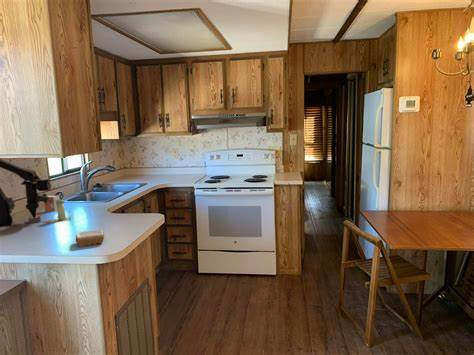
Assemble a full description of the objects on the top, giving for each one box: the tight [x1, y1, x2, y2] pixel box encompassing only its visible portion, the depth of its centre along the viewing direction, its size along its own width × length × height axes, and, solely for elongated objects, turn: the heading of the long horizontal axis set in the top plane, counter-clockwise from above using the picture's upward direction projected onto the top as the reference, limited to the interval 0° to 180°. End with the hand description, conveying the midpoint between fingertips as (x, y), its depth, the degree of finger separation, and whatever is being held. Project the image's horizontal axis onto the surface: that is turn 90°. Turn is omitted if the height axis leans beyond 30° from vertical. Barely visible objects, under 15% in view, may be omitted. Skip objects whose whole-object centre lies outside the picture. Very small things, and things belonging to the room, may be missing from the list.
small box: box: [43, 195, 60, 213], centre depth 241 cm, size 8×6×10 cm
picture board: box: [41, 216, 72, 224], centre depth 216 cm, size 18×17×1 cm
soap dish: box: [75, 229, 105, 247], centre depth 169 cm, size 12×10×5 cm
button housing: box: [28, 215, 42, 224], centre depth 211 cm, size 6×6×4 cm
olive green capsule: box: [56, 199, 67, 221], centre depth 213 cm, size 4×4×12 cm
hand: (34, 217), depth 211 cm, fingers closed, pressing on done button
